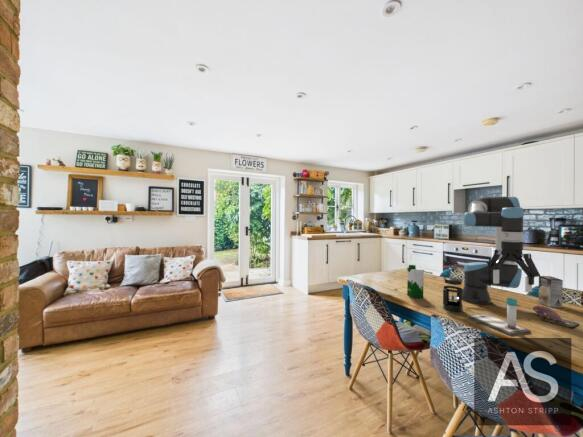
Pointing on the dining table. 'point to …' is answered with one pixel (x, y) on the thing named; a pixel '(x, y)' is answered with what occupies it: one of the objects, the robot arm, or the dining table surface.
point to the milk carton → (415, 281)
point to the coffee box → (550, 291)
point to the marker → (511, 313)
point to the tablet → (498, 324)
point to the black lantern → (451, 304)
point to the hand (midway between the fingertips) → (511, 287)
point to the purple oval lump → (547, 312)
